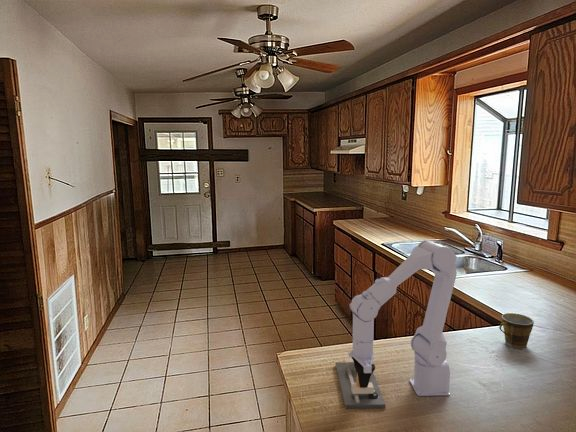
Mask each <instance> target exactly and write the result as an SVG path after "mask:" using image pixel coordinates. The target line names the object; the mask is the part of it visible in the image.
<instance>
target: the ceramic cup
mask: <svg viewBox="0 0 576 432" xmlns="http://www.w3.org/2000/svg"><path fill="white" fill-rule="evenodd" d="M501 321H502V322H501V323H500V325H499V330H500V332H502V333H503V334H504V341H505V343H504V344H505V345H506V346H508V347H510V348H512V349H518V350H522V349H526V348H527V345H528V342H529V339H530V336H531V333H532V331H533V327H534V324H535V320H533V318H531V317H530V316H527V315H524V314H521V313H513V312H511V313H510V312H507V313H504V314H502V315H501ZM502 327H503V328H502Z"/></svg>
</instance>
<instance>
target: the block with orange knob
mask: <svg viewBox="0 0 576 432" xmlns="http://www.w3.org/2000/svg"><path fill="white" fill-rule="evenodd" d="M351 390H352V394H374V393H375V390H374V387H373V384H372V382H369V384H368V387H360V385H359V380H358V374H357V383H351Z"/></svg>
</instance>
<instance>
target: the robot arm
mask: <svg viewBox="0 0 576 432" xmlns="http://www.w3.org/2000/svg"><path fill="white" fill-rule="evenodd" d="M457 257H458V256H457V255H456V253H455V252H454V251H453V250H452V249H451V247H449V246H444V245H441V244H439V243H437V242H433V241H432V240H428V239H425V240H422V241H421V242H420V243H418V245H417V246H415V247H414V248H413V249H412V251H411V253H410V255H408V257H406V259H405V260H404V261H402V263H401V264H400V265H398V267H396V268H395V270H393V272H392V273H390V275H388V276H386V277H385V276H383V277H382V276H381V277H380V278H376V279H375V280H374V283H373V284H372V285H371V286H370V287H368V288H367V289H366V290H364V291H362V293H361V294H357V295H355V296H354V297H353V298H352V299H351V302H350V303H349V309H350V310H351V312H352V350H349V351H347V352H348V354H347V355H348V357H349V358H352V359H353V361H354V367H355V369H356V375H357V374H358V380H359V385H360V387H368V384H369V380H370V377H371V375H372V373H373V374H374V371H375V370H376V366H375V364H374V363H373V360H374V358H375V357H374V356H375V353H374V329H375V328H374V326H375V325H374V324H375V322H374V321H375V319H376V318H377V316H378V313H379V310H380V309H381V307H382V306H383V305H384V304H385V303H387V302H388V301H389V300H390V299H391V298H392V297H393V296H395V295H396V293H397V287H398V286H399V285H401V284H402V283H403V282H404V281H406V280H408V279H409V278H410V277H411V276H412V275H414V274H416V272H418V271H419V270H428V271H429V270H431V271H432V273H433V274H434V278H433V283H432V286H431V291H430V295H429V300H428V304H427V307H426V312H425V316H424V319H423V323H422V325H421V326H419V327H417V328H416V331H415V333H414V335H413V336H412V338H411V339H410V340H411V341H410V346H411V349H412V350H413V351H414V370H413V371H414V373H413V375H414V376H413V378H409V380H408V381H409V383H410V384H411V386H412V389H413V390H414V392H415V394H416V395H417V396H418V397H419V396H421V397H424V396H425V397H426V396H427V397H428V396H450V395H451V393H450V381H451V380H450V377H451V373H450V372H451V371H450V369H451V368H450V366H449V363H448V361H447V360H446V359H447V355H448V354H447V344H448V343H447V340H446V338H445V336H444V332H443V330H444V326H445V323H446V318H447V315H448V311H449V306H450V303H451V298H452V294H453V291H454V288H455V287H454V286H455V282H456V278H457V273H458V272H457V267H456V261H457Z"/></svg>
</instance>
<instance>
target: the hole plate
mask: <svg viewBox="0 0 576 432" xmlns="http://www.w3.org/2000/svg"><path fill="white" fill-rule="evenodd" d="M335 368H336V369H335V370H336V372H337V373H336V375H337V377H338V381H339V387H340V391H341V394H342V401H343V404H344V407H345V409H346V410H350V409H351V410H353V409H354V410H356V409H357V410H358V409H361V410H362V409H363V410H365V409H386V402H385V400H384V397H383V394H382V392H381V390H380V387H379V384H378V382H377V379H376V377H375V373H374V372H373V373H372V375H371V377H370V380H369V382H372V384H373V387H374V390H375V393H374V394H352V390H351V383H357V375H356V369H355V367H354V361H353V359H352V357H349V358H347V357H346V358H344V361H343V362H335Z"/></svg>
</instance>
